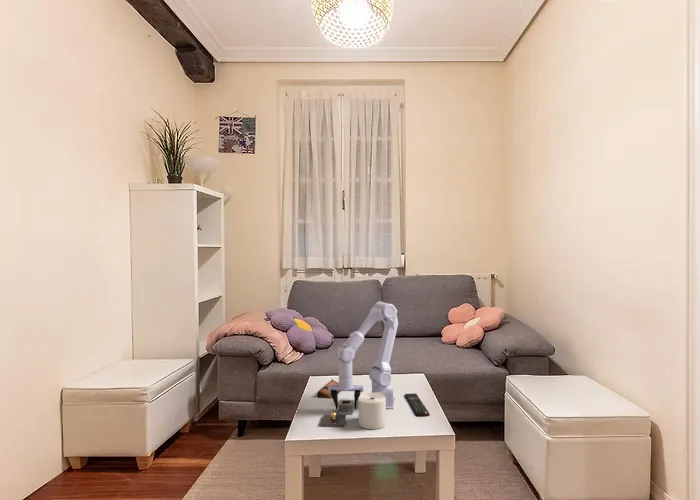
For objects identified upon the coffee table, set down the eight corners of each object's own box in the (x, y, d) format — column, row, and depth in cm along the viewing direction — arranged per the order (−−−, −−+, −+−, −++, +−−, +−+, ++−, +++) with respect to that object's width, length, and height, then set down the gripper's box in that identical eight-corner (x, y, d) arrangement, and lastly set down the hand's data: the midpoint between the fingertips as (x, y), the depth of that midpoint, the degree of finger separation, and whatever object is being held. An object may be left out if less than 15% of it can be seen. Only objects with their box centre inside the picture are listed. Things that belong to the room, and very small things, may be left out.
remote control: (416, 396, 193) (416, 393, 193) (429, 417, 169) (429, 414, 169) (404, 396, 193) (404, 393, 193) (416, 418, 169) (416, 414, 169)
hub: (346, 417, 170) (345, 408, 170) (343, 426, 161) (343, 417, 161) (323, 416, 171) (323, 408, 170) (320, 426, 162) (320, 417, 162)
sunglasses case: (334, 399, 190) (327, 385, 191) (322, 405, 192) (315, 392, 193) (346, 386, 207) (340, 374, 208) (335, 392, 209) (328, 380, 210)
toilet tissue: (358, 429, 158) (358, 403, 158) (358, 416, 170) (358, 391, 170) (387, 429, 158) (386, 403, 158) (385, 416, 170) (385, 391, 170)
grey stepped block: (353, 409, 178) (353, 399, 178) (352, 414, 172) (352, 404, 172) (340, 409, 178) (340, 399, 178) (338, 414, 173) (338, 404, 173)
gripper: (363, 373, 178) (364, 405, 178) (329, 372, 180) (330, 404, 180) (362, 378, 171) (363, 411, 171) (327, 377, 173) (327, 410, 173)
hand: (346, 408), depth 175 cm, fingers open, 7 cm apart
